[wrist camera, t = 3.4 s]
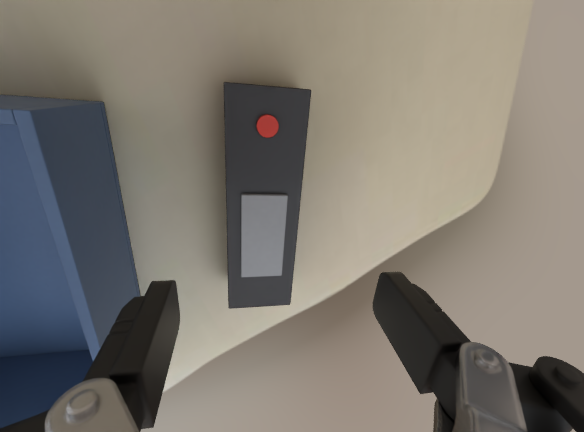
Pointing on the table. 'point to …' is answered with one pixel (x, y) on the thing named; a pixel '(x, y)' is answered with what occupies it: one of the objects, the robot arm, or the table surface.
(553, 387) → the robot arm
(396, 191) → the table surface
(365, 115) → the table surface
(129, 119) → the table surface
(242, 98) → the remote
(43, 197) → the open blue packaging tray
